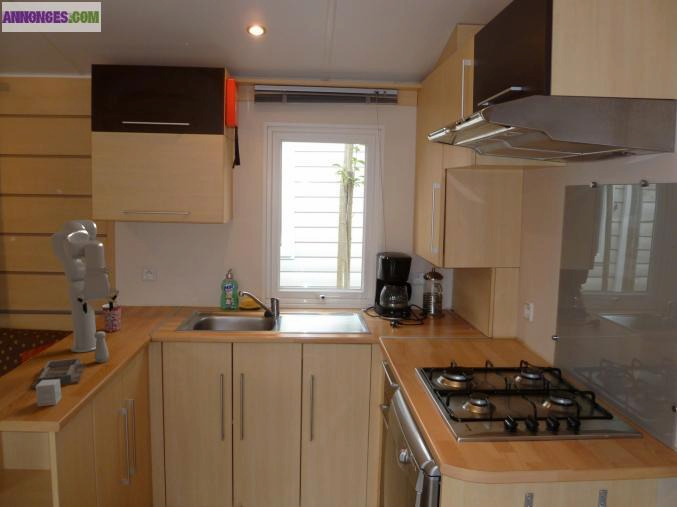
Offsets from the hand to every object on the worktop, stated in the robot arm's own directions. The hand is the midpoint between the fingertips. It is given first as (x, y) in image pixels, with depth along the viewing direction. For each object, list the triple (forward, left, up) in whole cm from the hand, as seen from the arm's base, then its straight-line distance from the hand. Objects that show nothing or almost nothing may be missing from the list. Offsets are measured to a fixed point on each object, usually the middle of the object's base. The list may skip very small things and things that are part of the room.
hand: (98, 311), depth 230 cm
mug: (-55, +1, -22) cm, 59 cm away
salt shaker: (0, 0, -22) cm, 22 cm away
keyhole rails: (+14, -14, -22) cm, 29 cm away
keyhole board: (+14, -14, -22) cm, 29 cm away
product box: (+42, -13, -22) cm, 49 cm away
